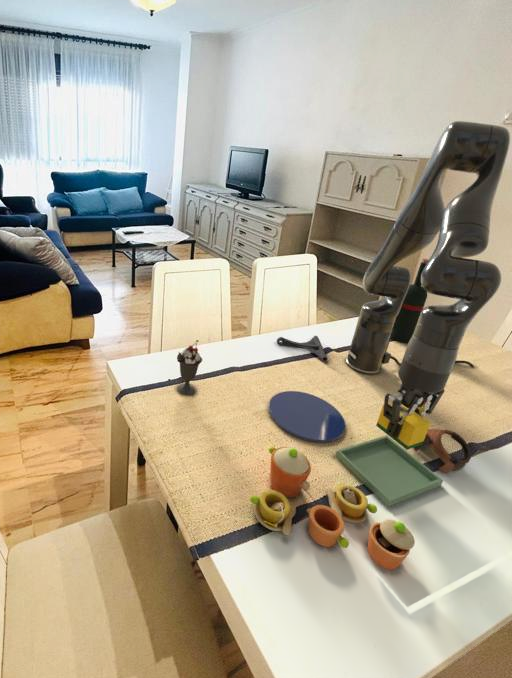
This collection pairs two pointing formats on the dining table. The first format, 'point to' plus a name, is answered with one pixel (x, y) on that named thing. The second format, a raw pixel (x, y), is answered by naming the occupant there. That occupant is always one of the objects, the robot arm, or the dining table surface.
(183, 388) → the sundae
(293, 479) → the toy tea set
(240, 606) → the dining table surface
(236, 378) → the dining table surface
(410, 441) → the sponge
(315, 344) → the bracket
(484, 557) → the dining table surface
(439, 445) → the pottery mug
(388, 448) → the dish
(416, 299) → the wine bottle
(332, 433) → the plate
